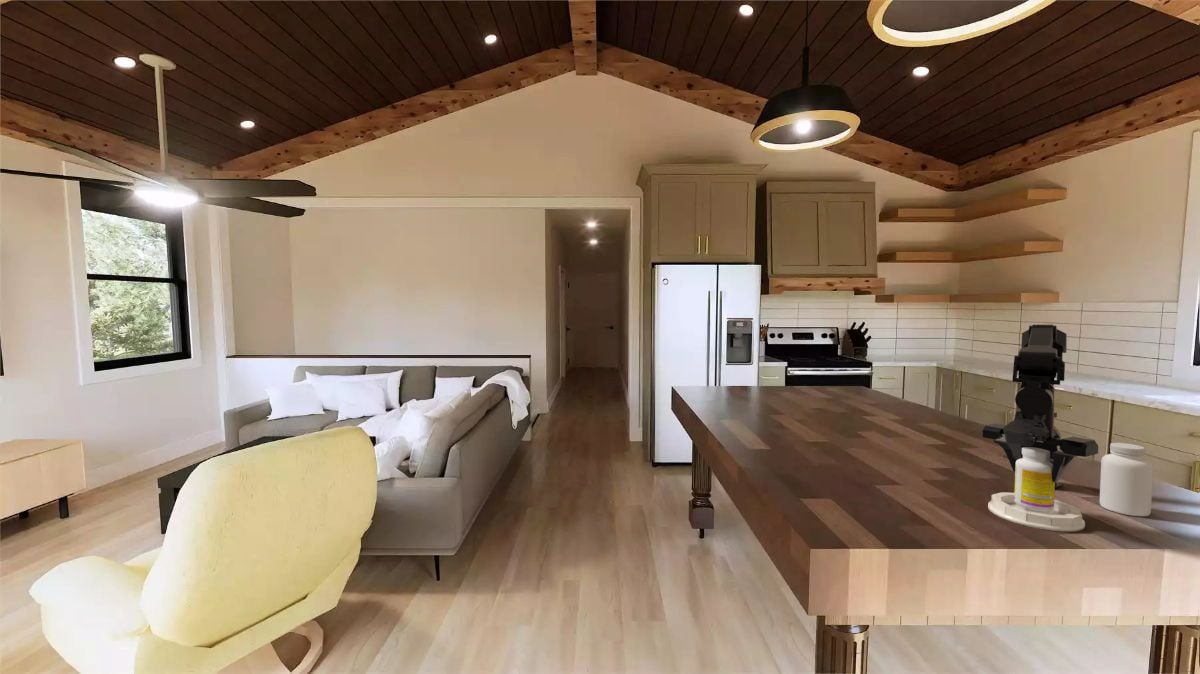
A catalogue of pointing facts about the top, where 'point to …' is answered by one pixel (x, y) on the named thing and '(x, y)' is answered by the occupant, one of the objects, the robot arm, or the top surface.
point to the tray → (1037, 514)
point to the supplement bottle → (1034, 480)
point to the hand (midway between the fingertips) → (1034, 477)
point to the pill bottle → (1126, 480)
